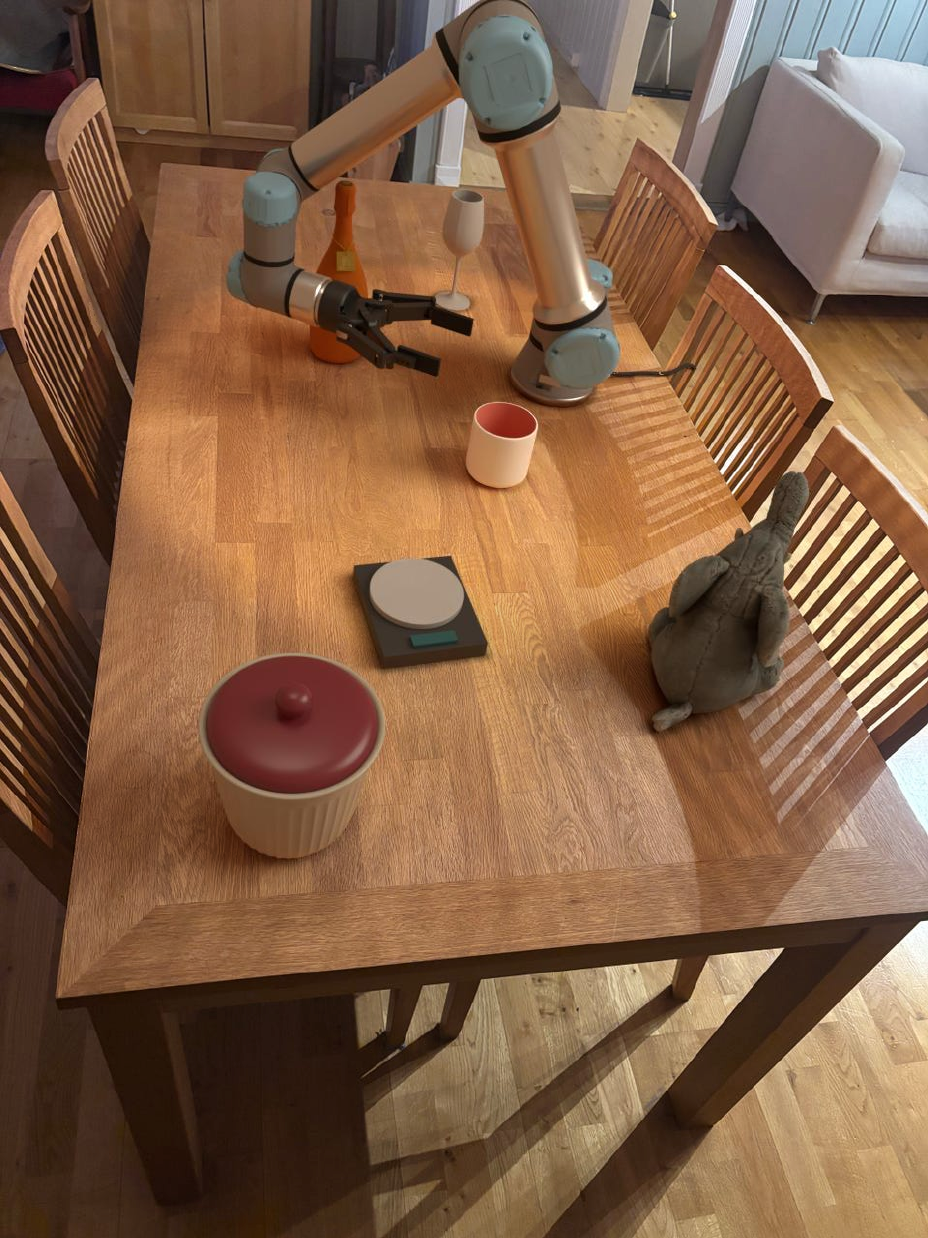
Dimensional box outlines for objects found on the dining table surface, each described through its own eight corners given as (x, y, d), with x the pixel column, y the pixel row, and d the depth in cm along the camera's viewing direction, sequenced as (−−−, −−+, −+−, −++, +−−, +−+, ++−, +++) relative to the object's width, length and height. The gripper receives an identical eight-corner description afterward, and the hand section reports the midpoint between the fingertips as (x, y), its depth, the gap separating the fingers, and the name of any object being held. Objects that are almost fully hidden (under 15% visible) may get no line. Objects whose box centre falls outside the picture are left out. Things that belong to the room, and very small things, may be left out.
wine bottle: (298, 354, 171) (303, 183, 150) (324, 331, 178) (332, 163, 157) (348, 372, 169) (360, 201, 148) (373, 348, 176) (387, 181, 155)
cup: (520, 498, 152) (533, 445, 145) (458, 482, 152) (468, 430, 145) (530, 461, 159) (542, 410, 152) (471, 447, 159) (480, 395, 152)
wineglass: (475, 298, 195) (493, 194, 180) (463, 315, 190) (480, 208, 175) (440, 288, 196) (455, 183, 181) (427, 303, 191) (441, 197, 176)
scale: (448, 567, 138) (452, 549, 136) (485, 655, 127) (489, 638, 125) (352, 577, 134) (354, 559, 132) (382, 669, 123) (384, 651, 121)
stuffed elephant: (733, 614, 140) (807, 463, 121) (790, 729, 126) (884, 580, 107) (608, 617, 136) (664, 461, 117) (653, 737, 122) (725, 582, 103)
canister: (405, 813, 109) (428, 694, 94) (285, 921, 98) (289, 806, 83) (294, 720, 116) (299, 595, 101) (170, 811, 105) (154, 686, 90)
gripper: (359, 293, 158) (480, 333, 155) (286, 362, 141) (420, 409, 138) (363, 249, 153) (488, 290, 150) (287, 315, 135) (427, 362, 132)
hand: (456, 347), depth 144 cm, fingers open, 13 cm apart
